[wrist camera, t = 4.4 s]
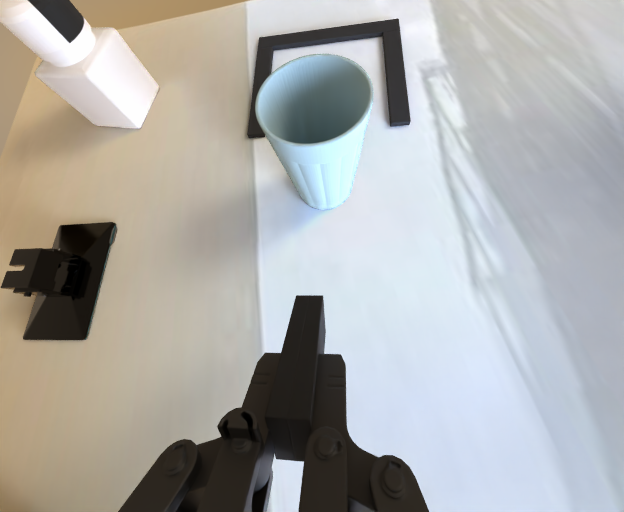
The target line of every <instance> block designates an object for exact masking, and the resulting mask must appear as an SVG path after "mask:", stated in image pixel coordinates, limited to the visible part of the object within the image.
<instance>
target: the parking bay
mask: <svg viewBox="0 0 624 512" xmlns="http://www.w3.org/2000/svg"><path fill="white" fill-rule="evenodd" d="M378 36H383V47H384V58H385V70H386V81H387V93H388V105H389V116H390V126H400V125H409V124H410V113H409V104H408V96H407V87H406V79H405V70H404V61H403V53H402V44H401V36H400V27H399V19H392V20H385V21H377V22H370V23H363V24H355V25H348V26H341V27H333V28H326V29H319V30H311V31H304V32H297V33H290V34H282V35H275V36H268V37H260V38H259V43H258V51H257V59H256V67H255V76H254V84H253V92H252V101H251V109H250V117H249V126H248V134H247V135H248V137H249V138H254V137H265V133H264V132H263V130H262V128H261V126H260V125H259V123H258V120H257V117H256V112H255V103H256V97H257V94H258V92H259V90H260V88H261V86H262V84H263V83H264V81H265V80H266V79H267V78H268V77H269V76H270V75H271V69H272V59H273V50H278V49H285V48H293V47H301V46H309V45H316V44H324V43H332V42H340V41H347V40H355V39H363V38H371V37H378Z"/></svg>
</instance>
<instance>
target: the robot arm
mask: <svg viewBox="0 0 624 512" xmlns="http://www.w3.org/2000/svg"><path fill="white" fill-rule="evenodd" d="M325 333H326V332H325V317H324V303H323V296H296V299H295V302H294V306H293V310H292V314H291V318H290V322H289V325H288V329H287V333H286V337H285V341H284V344H283V348H282V352H281V353H265V354H264V355H263V356H262V357H261V359H260V360H259V361H258V362H257V365H256V368H255V371H254V375H253V377H252V380H251V384H250V385H249V388H248V391H247V394H246V397H245V399H244V402H243V405H242V407H241V408H236V409H234V410H232V411H230V412H228V413H227V414H226V415H225V416H224V417H223V418H222V419H221V421H220V422H219V424H218V426H217V427H218V429H219V432H220V434H221V436H222V437H220V438H217V439H215V440H212V441H208V442H205V443H202V444H198V445H196V444H195V443H194V442H192V441H191V440H186V439H183V440H180V441H177V442H175V443H173V444H172V445H170V446H169V447H168V448H167V449H166V450H165V451H164V452H163V453H162V454H161V455H160V456H159V458H158V459H157V460H156V462H155V463H154V464H153V466H152V467H151V468H150V470H149V471H148V472H147V474H146V475H145V476H144V478H143V479H142V480H141V482H140V483H139V485H138V486H137V487H136V489H135V490H134V491H133V493H132V494H131V495H130V497H129V498H128V499H127V501H126V502H125V503H124V505H123V506H122V507H121V509H120V510H119V511H118V512H266V511H267V506H268V501H269V495H270V490H271V485H272V479H273V471H272V468H271V467H272V462H273V458H274V453H275V456H276V459H282V460H293V461H304V468H303V477H302V486H301V495H300V504H299V512H429V510H428V508H427V505H426V503H425V500H424V498H423V495H422V493H421V490H420V488H419V485H418V483H417V481H416V478H415V476H414V474H413V473H412V471H411V469H410V467H409V466H408V465H407V464H406V463H405V462H404V461H403V460H401V459H399V458H397V457H395V456H393V455H384V456H382V457H379V458H378V457H376V456H374V455H372V454H370V453H368V452H366V451H364V450H362V449H361V448H359V447H358V446H357V445H356V444H355V443H354V442H353V441H352V439H351V438H350V436H349V433H348V431H347V421H346V366H345V362H344V360H343V358H342V356H341V355H339V354H324V346H325Z"/></svg>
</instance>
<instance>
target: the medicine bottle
mask: <svg viewBox="0 0 624 512" xmlns="http://www.w3.org/2000/svg"><path fill="white" fill-rule="evenodd" d="M0 22H1V23H2V24H3V25H4V26H5V27H6V28H7V29H8V30H10V31H11V32H12V33H13V34H14V35H15V36H16V37H17V38H18V39H20V40H21V41H22V42H23V43H24V44H25V45H26V46H27V47H29V48H30V49H31V50H32V51H33V52H34V53H35V54H36V55H37V56H38V57H40V58H41V59H42V62H41V63H40V65H39V66H38V68H37V69H36V71H35V75H36V77H37V78H39V79H40V80H41V81H42V82H43V83H45V84H46V85H47V86H48V87H50V88H51V89H52V90H53V91H54V92H56V93H57V94H58V95H59V96H60V97H62V98H63V99H64V100H65V101H66V102H68V103H69V104H70V105H71V106H73V107H74V108H75V109H76V110H77V111H79V112H80V113H81V114H82V115H83V116H85V117H86V118H87V119H88V120H89V121H91V122H92V123H93V124H94V125H96V126H107V127H121V128H135V129H140V128H141V126H142V124H143V122H144V120H145V118H146V116H147V114H148V111H149V109H150V107H151V105H152V103H153V101H154V99H155V96H156V94H157V92H158V90H159V86H158V84H157V83H156V82H155V80H154V79H153V78H152V76H151V75H150V74H149V72H148V71H147V70H146V69H145V67H144V66H143V65H142V63H141V62H140V61H139V59H138V58H137V57H136V55H135V54H134V53H133V51H132V50H131V49H130V47H129V46H128V45H127V44H126V42H125V41H124V40H123V38H122V37H121V36H120V34H119V33H118V32H117V30H116V29H114V28H112V27H109V28H91V26H90V25H89V24H88V22H87V21H86V20H85V19H84V17H83V16H82V15H81V14H80V13H79V12H78V10H77V9H76V8H75V7H74V5H73V4H72V3H71V2H70V1H69V0H0Z"/></svg>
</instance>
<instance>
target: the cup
mask: <svg viewBox="0 0 624 512" xmlns="http://www.w3.org/2000/svg"><path fill="white" fill-rule="evenodd" d="M373 94H374V92H373V86H372V82H371V79H370V78H369V76H368V74H367V73H366V72H365V70H364V69H363V68H362V67H361V66H359V65H358V64H357V63H355V62H354V61H352V60H350V59H348V58H345V57H342V56H338V55H333V54H313V55H307V56H303V57H299V58H297V59H294V60H292V61H289V62H287V63H286V64H284V65H282V66H281V67H279V68H278V69H276V70H275V71H274V72H273V73H272V74H271V75H270V76H269V77H268V78H267V79H266V80H265V81H264V83H263V84H262V86H261V88H260V90H259V92H258V94H257V97H256V103H255V112H256V117H257V120H258V123H259V125H260V126H261V128H262V130H263V132H264V133H265V135H266V137H267V139H268V140H269V142H270V144H271V146H272V147H273V149H274V151H275V152H276V154H277V156H278V158H279V159H280V161H281V163H282V165H283V166H284V168H285V170H286V172H287V174H288V175H289V177H290V179H291V181H292V182H293V184H294V186H295V188H296V189H297V191H298V193H299V194H300V196H301V198H302V199H303V201H305V202H306V203H307V204H308V205H309V206H311V207H313V208H316V209H320V210H326V209H332V208H335V207H337V206H339V205H341V204H342V203H343V202H345V200H346V199H347V198H348V196H349V195H350V193H351V190H352V186H353V182H354V177H355V173H356V169H357V165H358V161H359V156H360V152H361V148H362V144H363V140H364V135H365V131H366V128H367V124H368V120H369V116H370V112H371V108H372V103H373Z"/></svg>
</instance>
